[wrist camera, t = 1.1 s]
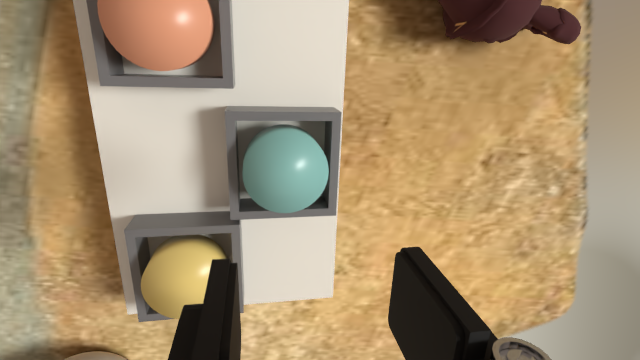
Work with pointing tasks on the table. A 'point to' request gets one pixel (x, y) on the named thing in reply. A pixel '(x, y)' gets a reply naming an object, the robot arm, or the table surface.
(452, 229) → the table surface
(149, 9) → the button terracotta
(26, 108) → the table surface
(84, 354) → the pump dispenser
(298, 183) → the button teal
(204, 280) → the button ochre
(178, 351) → the robot arm
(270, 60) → the button panel
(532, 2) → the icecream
